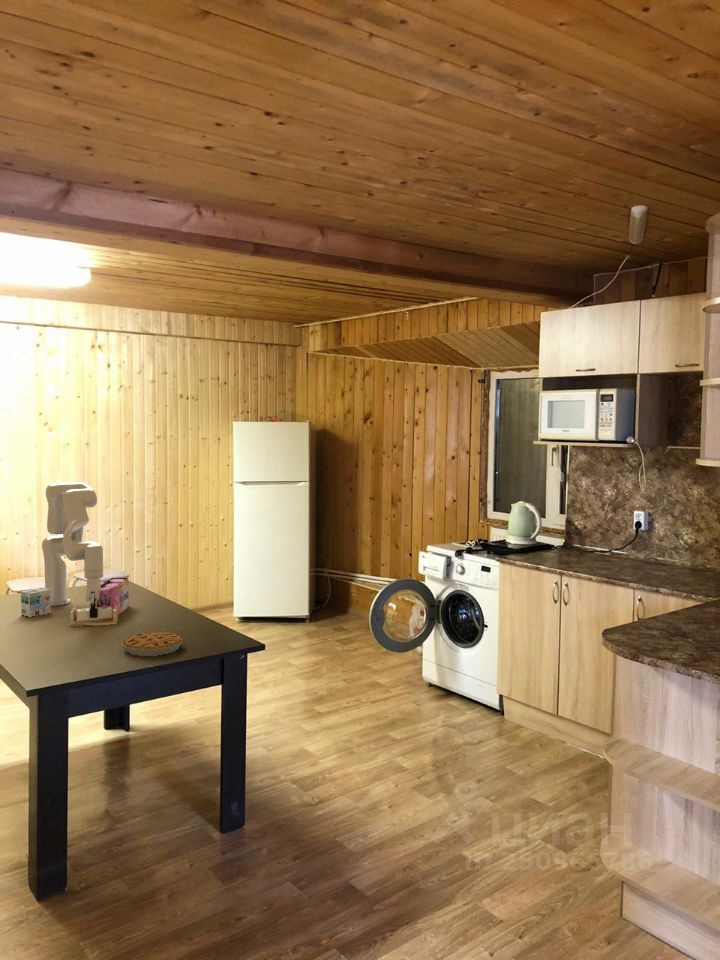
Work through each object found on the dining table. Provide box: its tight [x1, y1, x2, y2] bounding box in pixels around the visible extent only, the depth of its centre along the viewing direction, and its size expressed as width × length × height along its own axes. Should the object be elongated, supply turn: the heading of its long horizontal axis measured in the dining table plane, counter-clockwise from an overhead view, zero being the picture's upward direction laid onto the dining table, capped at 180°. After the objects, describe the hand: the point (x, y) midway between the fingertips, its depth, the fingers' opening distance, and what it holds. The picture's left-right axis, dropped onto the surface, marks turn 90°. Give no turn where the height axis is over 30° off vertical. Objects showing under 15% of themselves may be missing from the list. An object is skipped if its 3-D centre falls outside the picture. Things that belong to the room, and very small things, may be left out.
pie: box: [121, 631, 183, 657], centre depth 297 cm, size 22×22×5 cm
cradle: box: [69, 606, 119, 627], centre depth 335 cm, size 8×18×6 cm, turn 102°
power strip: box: [76, 606, 112, 621], centre depth 335 cm, size 4×14×4 cm, turn 114°
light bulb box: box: [20, 587, 52, 618], centre depth 349 cm, size 11×7×11 cm, turn 146°
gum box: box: [99, 577, 130, 616], centre depth 353 cm, size 24×8×14 cm, turn 0°
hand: (94, 615), depth 335 cm, fingers open, 5 cm apart
